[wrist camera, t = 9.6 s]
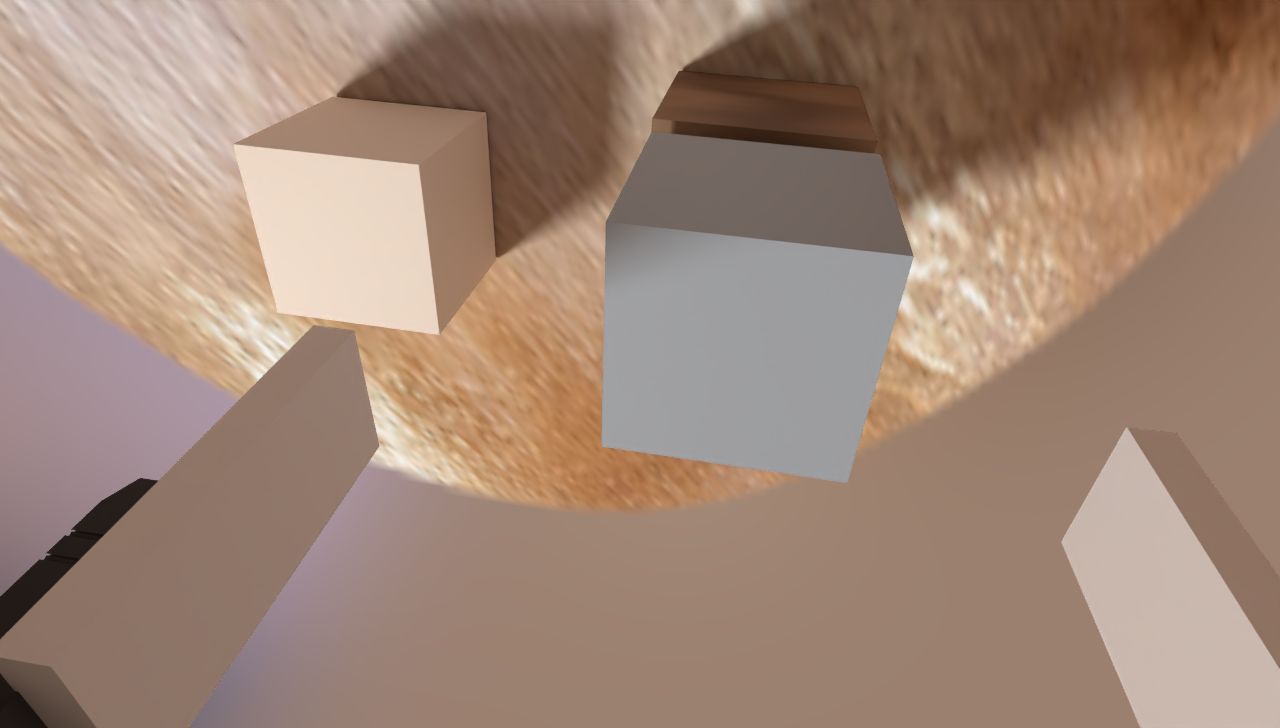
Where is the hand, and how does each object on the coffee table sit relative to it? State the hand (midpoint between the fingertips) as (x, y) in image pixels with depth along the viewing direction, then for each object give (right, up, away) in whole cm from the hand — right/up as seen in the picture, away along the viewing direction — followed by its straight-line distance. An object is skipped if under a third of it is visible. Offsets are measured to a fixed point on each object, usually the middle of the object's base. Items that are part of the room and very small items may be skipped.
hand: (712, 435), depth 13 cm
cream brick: (-10, +8, +16) cm, 20 cm away
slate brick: (+2, +5, +8) cm, 9 cm away
